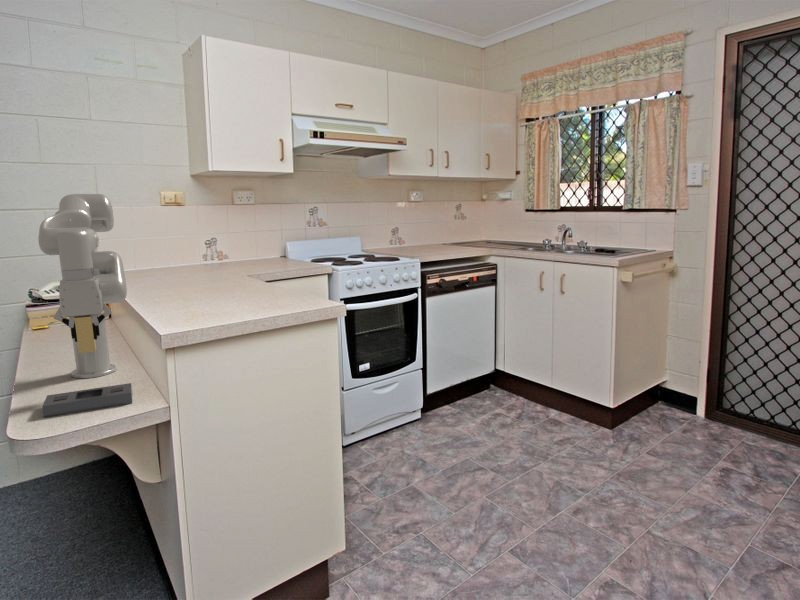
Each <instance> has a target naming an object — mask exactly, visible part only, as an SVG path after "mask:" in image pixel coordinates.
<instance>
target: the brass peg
mask: <svg viewBox="0 0 800 600" xmlns="http://www.w3.org/2000/svg"><path fill="white" fill-rule="evenodd" d="M74 319H75V327H76V334H77V342H78V350H79V353H86V352H94V351H96V341H95V339H94V334H93V319H92V317H91V315H89V316H78V317H75V318H74Z"/></svg>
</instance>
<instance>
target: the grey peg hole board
mask: <svg viewBox="0 0 800 600" xmlns="http://www.w3.org/2000/svg"><path fill="white" fill-rule="evenodd" d="M131 404H133V388H132V383H131V382H129V383H128V382H127V383H123V384H116V385H108V386H102V387H95V388H89V389H88V388H87V389H82V390H75V391H74V390H73V391H68V392H60V393H55V394H48V395H46V397H45V399H44V401H43V404H42V407H41V408H42V415H43V418H45V419H46V418H49V417H50V418H51V417H55V416H63V415H69V414H74V413H75V414H76V413H80V412H87V411H92V410H93V411H94V410H99V409H105V408H112V407H118V406H123V405H124V406H125V405H131Z"/></svg>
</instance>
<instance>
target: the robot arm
mask: <svg viewBox="0 0 800 600" xmlns="http://www.w3.org/2000/svg"><path fill="white" fill-rule="evenodd" d="M114 223H115V222H114V210H113V205H112V202H111V201H110V199H109V198H108V197H107V196H106V195H105V194H102V193H72V194H71V193H70V194H67V195H65V196H63V197H61V199H60V201H59V205H58V210H57V211H56V212H55V213H54V214H53V215H50V216H48V217H47V218H45V219H44V220H42V222H41V223H40V226H39V229H38V231H39V232H38V237H37V239H38V245H39V248H40V250H41V252H43V254H45V255H48V256H59V257H58V258H59V264H60V270H61V272H60V273H61V277H62V278H61V279H62V280H59V289H58V294H59V296H58V297H59V307H58V309H57V310H56V312H55V314H54V315H53V320H56V321H58V322H61V323H62V324H64V325H66V326H67V327H68V328H70V335H71V339H72V344H73V345H72V346H73V353H74V361H75V369H73V370H72V371H71V374H70V375H71V377H73V378H74V379H93V378H98V377H103V376H106V375H110V374H112V373H114V372H116V371H117V366H116V364H114V363H113V364H112V363H111V358H110V352H109V351H110V350H109V349H110V348H109V341H108V335H107V326H106V318H107V317H108V316H110V315H111V314H112V310H111V309H110V307H108V306H107V304H117V303H122V302H124V300H125V299H126V298H127V294H128V293H127V292H128V289H127V288H128V287H127V281H126V277H125V270H124V269H125V268H124V263H123V260H122V257H121V255H120V254H119V253H118V252H115V251H112V250H111V251H110V250H106V251H105V250H104V251H96V250H97V249H98V247H99V244H100V241H99V236H98V233H106V232H107V233H108V232H110V231H111V230H113V228H114ZM103 311H104V312H103ZM89 315H91V317H92V319H93V334H94V339H95V341H96V351H94V352H86V353H79V350H78V342H77V334H76V327H75V319H74V318H75V317H78V316H89Z"/></svg>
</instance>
